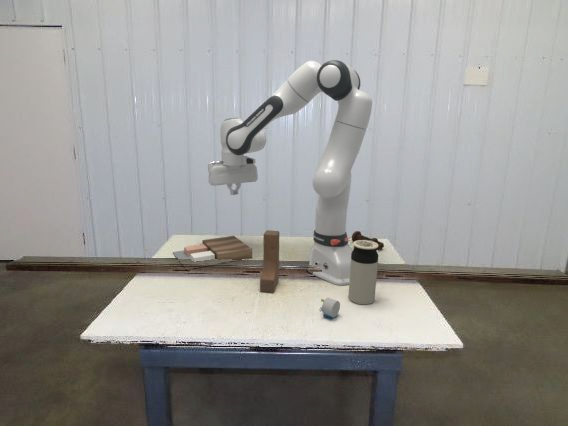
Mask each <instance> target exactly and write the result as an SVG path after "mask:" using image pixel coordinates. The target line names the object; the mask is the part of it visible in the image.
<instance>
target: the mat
mask: <svg viewBox="0 0 568 426" xmlns="http://www.w3.org/2000/svg"><path fill="white" fill-rule="evenodd" d="M172 255H173V256H174V257H175V258H176V259H177V258H178V259H190V256H189V257H188V256H187V255H186V254H185V253H184V249H182V250H177V251H172ZM178 259H177V260H178Z"/></svg>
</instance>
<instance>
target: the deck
mask: <svg viewBox="0 0 568 426" xmlns="http://www.w3.org/2000/svg"><path fill="white" fill-rule="evenodd" d="M202 244H204V245H205V246H206V247H207V251H211V252H212V253H213V254H215V259H218V260H221V259H232V260H239V261H243V260H242V259H245V260H250V259H253V248H252V247H250V246H249V245H247V244H246V243H245V242H243V241H242V240H241V239H240V238H237V237H236V236H235V235H228V236H222V237H214V238H207V239H203V240H202Z"/></svg>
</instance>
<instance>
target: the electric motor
mask: <svg viewBox="0 0 568 426" xmlns="http://www.w3.org/2000/svg"><path fill="white" fill-rule="evenodd" d="M320 301H321V302H322V304H321V305H322V306H321V307H320V308H319V312H321V313H322V314H323V317H326V318H329V319H331V320H332V319H334V318H335V317H337V316H338V314H339V312H340V309H341V302H340V301H339V300H336V299H333V298H330V297H327V298H321V299H320Z"/></svg>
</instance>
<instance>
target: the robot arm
mask: <svg viewBox="0 0 568 426" xmlns="http://www.w3.org/2000/svg"><path fill="white" fill-rule="evenodd" d="M360 88H361V79H360V76H359V73H358V72H357V71H356V70H355V69H353V68H352V67H351V65H349V64H347V63H345V62H343V61H342V60H338V59H336V60H335V59H333V60H329V61H326V62H324V63H323V64H321V63H319V62H317V61H316V60H308V61H306V62H304V63H303V64H302V65H300V66H299V67H298V68H296V69H295V71H293V73H292V74H290V75H289V76H288V77H287V78H286V79H285V81H284V82H283V83H282V84H281V85H280V86H279V87H278V88H277V89H276V91H275V92H274V93H273V94H271V96H269V97H268V98H267V99H266V100H265V101H264V102H263V103H262V104H261V105H260V106H258V108H257V109H255V110H254V111H253V112H252V113H251V114H250V115H249V116H248V117H247V118H246V119H245V120H244V121H243V120H242V118H239V117H232V118H226V119H224V120H222V122H221V124H220V129H219V130H220V133H219V135H220V144H221V152H220V154H221V155H220V156H221V157H220V158H221V160H217V161H211V162H210V163H208V165H207V171H208V183H209V184H210V186H212V187H215V186H224V185H225V186H226V187H227V188H228V190H229V193H230V195H231V196H236V195H239V190H240V188H241V185H242V184H244V183H252V182H257V181H258V180H259V179H258V178H259V177H258V169H257V165H256V159H255V158H253V157H249V156H246V155H245V154H250V153H256V152H259V151H262V150H263V149H264V148H265V146H266V142H267V137H266V133H265V131H264V129H265V128H266V127H267V126H268V125H269V124H271V122H274V121H275V120H277V119H278V118H282V117H285V116H291V115H295V114H296V113H298V112H299V111H301V110H302V109H304V108H305V107H306V106H307V105H308V104H309V103H310V102H312V100H313V99H314V98H315V97H316V96H317V95H318V94H320V93H323V94H325V95H326V96H327V97H330V98H331V99H332V100H334V101H337V104H338V107H337V108H338V109H337V112H336V115H335V119H334V122H333V124H332V128H331V132H330V134H329V138H328V141H327V143H326V146H325V147H324V150H323V153H322V155H321V157H320V161H319V162H318V165H317V167H316V171H315V173H314V175H313V178H312V187H313V191H315V193H317V195H318V200H317V205H316V209H315V222H314V223H315V225H314V226H315V227H314V230H313V234H312V235H313V241H314V242H313V245H312V247H311V250H310V257H309V264H308V266H309V265H313V266H317V267H319V268H320V269H321V270H322V272H313V274H312V275H313V276H315V277H317V278H320V279H322V280H325V281H326V282H329V283H331V284H332V285H333V284H334V285H338V286H346V285H349V280H350V266H351V253H352V251H353V248H351V246H350V244H349V242H350V241H351V237H348V234H347V212H348V206H349V200H350V199H349V197H350V193H351V183H352V169H353V167H354V164H355V161H356V159H357V157H358V155H359V153H360V150H361V147H362V144H363V141H364V137H365V134H366V132H367V128H368V125H369V122H370V120H371V119H370V118H371V114H372V109H373V99H372V97H371V96H370V95H369V94H368V93H367V92H365V91H363V90H361V89H360ZM233 185H235V186H236V187H235V189H233V188H232V187H233Z"/></svg>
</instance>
